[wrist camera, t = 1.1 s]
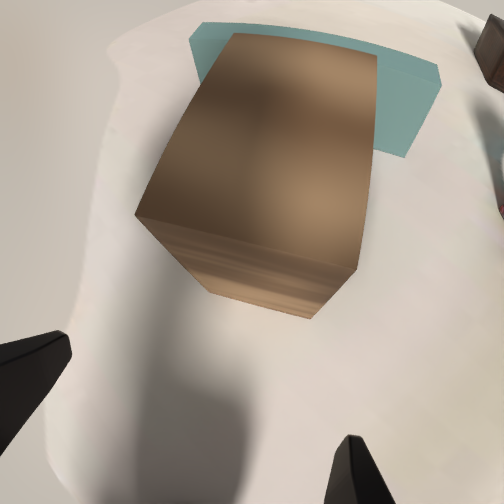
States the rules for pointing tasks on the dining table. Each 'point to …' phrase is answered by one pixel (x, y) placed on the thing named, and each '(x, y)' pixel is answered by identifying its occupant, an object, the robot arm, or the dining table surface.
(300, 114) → the walnut block
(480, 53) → the pepper mill
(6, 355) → the robot arm
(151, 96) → the dining table surface
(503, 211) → the snack box
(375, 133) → the teal board
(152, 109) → the dining table surface
